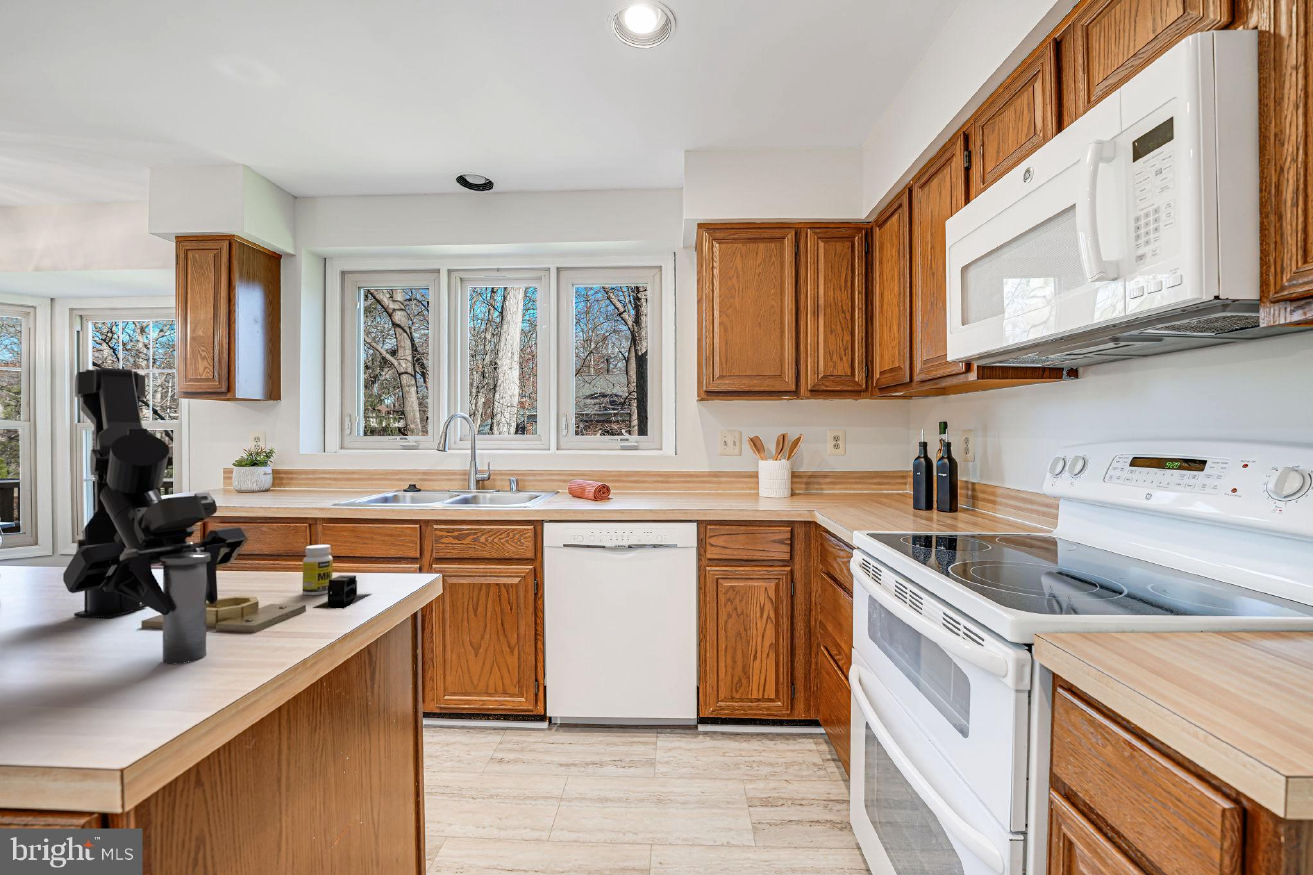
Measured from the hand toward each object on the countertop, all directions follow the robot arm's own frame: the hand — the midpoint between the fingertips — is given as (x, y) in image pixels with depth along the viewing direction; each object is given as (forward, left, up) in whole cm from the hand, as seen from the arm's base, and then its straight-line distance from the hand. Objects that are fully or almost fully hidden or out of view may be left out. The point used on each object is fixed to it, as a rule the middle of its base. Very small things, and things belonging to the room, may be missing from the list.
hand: (192, 607), depth 78 cm
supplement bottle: (-6, +33, -7) cm, 35 cm away
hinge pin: (-1, 0, -7) cm, 7 cm away
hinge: (-9, +16, -7) cm, 20 cm away
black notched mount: (+2, +29, -7) cm, 30 cm away
